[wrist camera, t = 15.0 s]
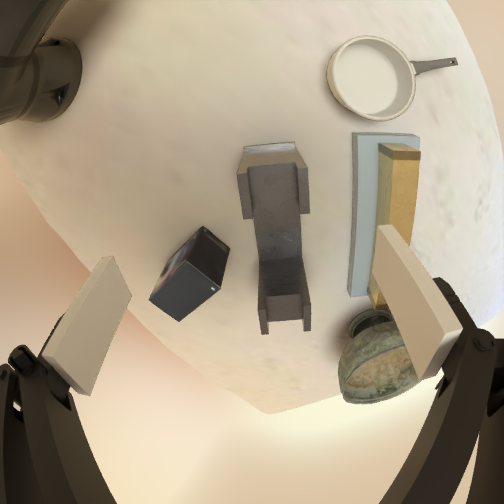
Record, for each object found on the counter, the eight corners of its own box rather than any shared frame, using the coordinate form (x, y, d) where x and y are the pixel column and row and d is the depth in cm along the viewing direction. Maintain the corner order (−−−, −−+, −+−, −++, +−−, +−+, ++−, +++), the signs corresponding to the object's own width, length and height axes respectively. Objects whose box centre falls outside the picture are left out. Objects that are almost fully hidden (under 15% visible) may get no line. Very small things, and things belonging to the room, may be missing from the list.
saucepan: (447, 95, 30) (468, 99, 25) (341, 126, 35) (352, 132, 30) (423, 29, 25) (442, 24, 20) (308, 53, 30) (316, 47, 25)
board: (347, 288, 50) (350, 297, 48) (352, 132, 35) (357, 135, 33) (395, 282, 49) (399, 290, 47) (411, 134, 34) (419, 137, 32)
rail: (366, 291, 47) (374, 310, 43) (378, 142, 33) (393, 150, 29) (387, 288, 47) (396, 307, 42) (403, 143, 33) (420, 151, 29)
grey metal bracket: (262, 283, 50) (262, 336, 39) (244, 146, 37) (235, 169, 27) (302, 280, 49) (310, 333, 39) (294, 141, 37) (307, 162, 26)
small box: (201, 223, 44) (186, 259, 35) (231, 248, 46) (224, 289, 37) (165, 261, 48) (145, 300, 39) (193, 282, 51) (179, 324, 42)
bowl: (398, 347, 59) (416, 396, 47) (325, 355, 61) (333, 411, 48) (423, 285, 49) (454, 338, 36) (336, 291, 50) (353, 355, 38)
